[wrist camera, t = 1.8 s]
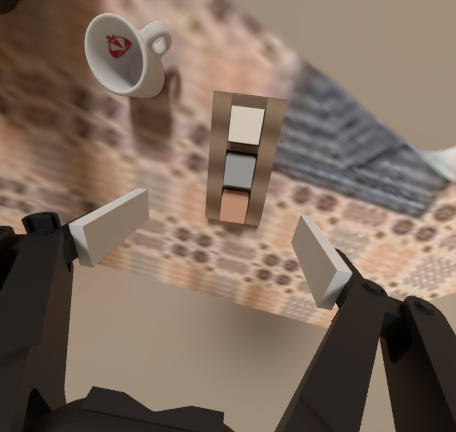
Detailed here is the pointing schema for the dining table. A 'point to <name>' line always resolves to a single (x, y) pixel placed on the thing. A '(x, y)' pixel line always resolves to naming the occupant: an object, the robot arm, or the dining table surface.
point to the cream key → (245, 124)
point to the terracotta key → (234, 206)
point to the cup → (126, 55)
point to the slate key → (239, 170)
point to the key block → (222, 145)
